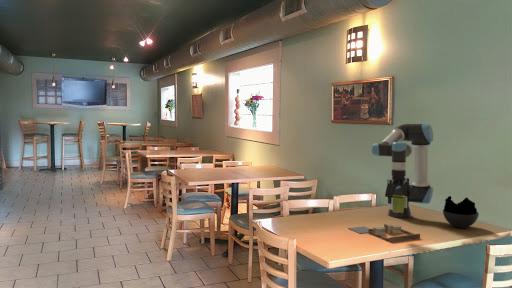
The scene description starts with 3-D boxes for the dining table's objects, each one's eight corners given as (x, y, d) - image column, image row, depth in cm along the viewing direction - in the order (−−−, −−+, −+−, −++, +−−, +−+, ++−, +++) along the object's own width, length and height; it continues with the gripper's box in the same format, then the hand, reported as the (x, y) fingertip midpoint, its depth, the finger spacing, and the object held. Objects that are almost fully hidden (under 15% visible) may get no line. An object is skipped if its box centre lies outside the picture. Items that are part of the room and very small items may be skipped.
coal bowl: (485, 229, 248) (486, 199, 247) (460, 232, 241) (462, 201, 240) (458, 222, 267) (460, 193, 266) (435, 224, 260) (436, 195, 259)
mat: (348, 228, 249) (348, 228, 249) (364, 226, 253) (364, 226, 253) (360, 233, 238) (360, 233, 238) (376, 231, 242) (376, 231, 242)
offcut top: (384, 224, 241) (388, 223, 242) (384, 232, 242) (388, 231, 243) (388, 225, 237) (392, 225, 239) (388, 234, 238) (392, 233, 239)
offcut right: (388, 232, 243) (388, 225, 242) (396, 231, 245) (396, 224, 244) (392, 233, 239) (392, 227, 239) (400, 232, 241) (401, 226, 241)
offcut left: (372, 233, 238) (372, 227, 238) (380, 232, 241) (380, 226, 240) (377, 235, 235) (377, 228, 234) (385, 234, 237) (385, 227, 237)
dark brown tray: (368, 233, 239) (368, 229, 239) (396, 229, 247) (396, 225, 247) (390, 242, 222) (390, 237, 221) (420, 238, 229) (420, 233, 229)
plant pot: (409, 211, 232) (409, 196, 231) (402, 214, 225) (402, 199, 224) (393, 209, 238) (393, 194, 237) (386, 212, 231) (386, 197, 231)
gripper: (387, 171, 222) (386, 211, 224) (418, 169, 230) (417, 207, 232) (378, 169, 229) (377, 208, 231) (409, 167, 237) (408, 205, 239)
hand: (397, 208), depth 231 cm, fingers closed on plant pot, 9 cm apart
